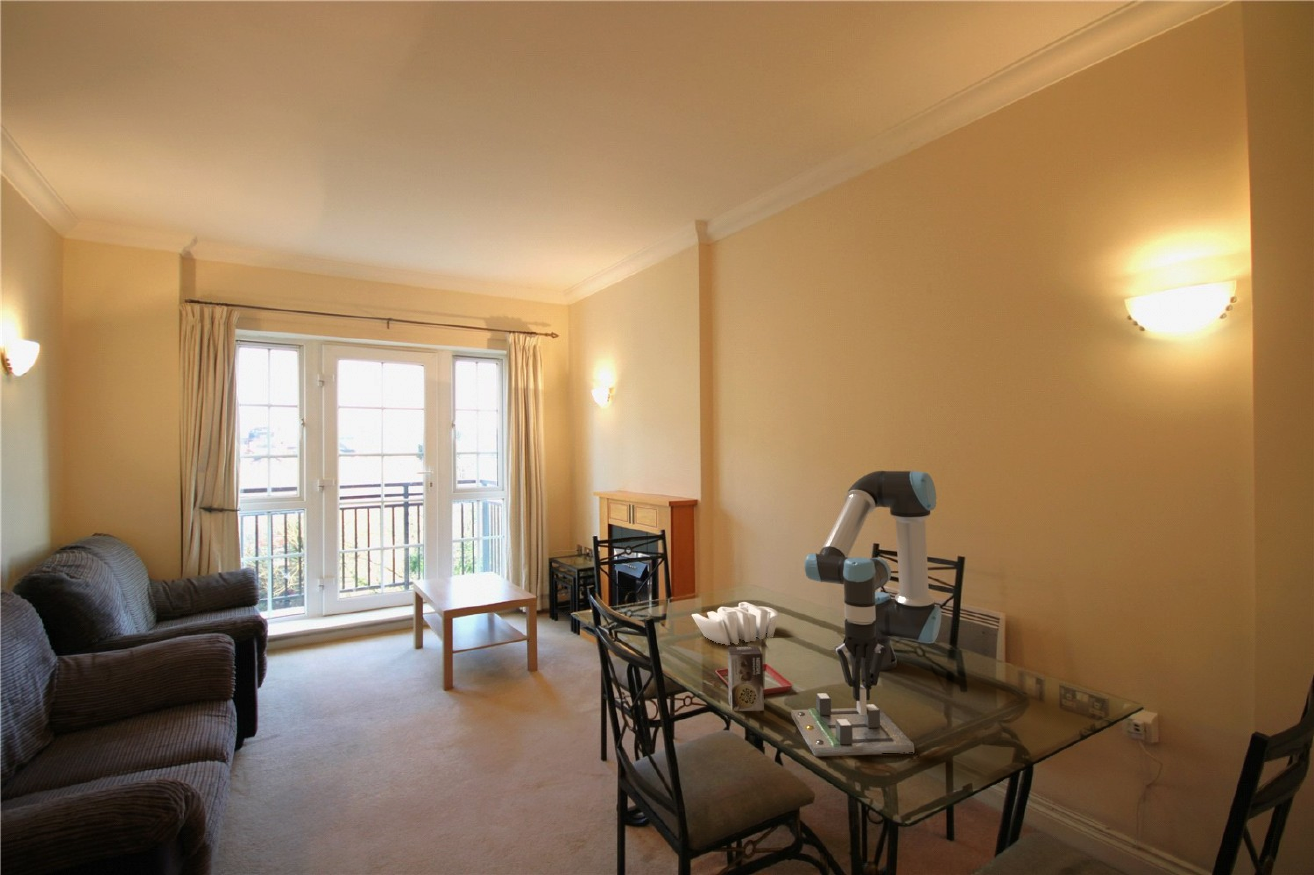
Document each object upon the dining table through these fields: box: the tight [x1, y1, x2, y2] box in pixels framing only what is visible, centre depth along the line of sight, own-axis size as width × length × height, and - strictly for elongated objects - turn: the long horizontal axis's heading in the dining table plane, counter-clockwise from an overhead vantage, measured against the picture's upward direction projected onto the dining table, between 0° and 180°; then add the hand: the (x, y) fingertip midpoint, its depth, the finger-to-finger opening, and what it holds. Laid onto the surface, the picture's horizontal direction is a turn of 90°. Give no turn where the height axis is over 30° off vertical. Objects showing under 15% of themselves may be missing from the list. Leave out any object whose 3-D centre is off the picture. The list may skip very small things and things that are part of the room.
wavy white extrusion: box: [691, 601, 780, 646], centre depth 228 cm, size 35×16×11 cm, turn 111°
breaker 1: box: [815, 692, 832, 715], centre depth 157 cm, size 3×3×4 cm
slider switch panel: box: [790, 706, 915, 757], centre depth 150 cm, size 24×20×3 cm
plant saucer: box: [714, 663, 794, 695], centre depth 180 cm, size 18×18×3 cm
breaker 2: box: [836, 719, 853, 744], centre depth 142 cm, size 3×3×4 cm
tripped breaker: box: [864, 703, 880, 728], centre depth 150 cm, size 3×3×4 cm
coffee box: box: [727, 645, 765, 712], centre depth 166 cm, size 9×6×16 cm
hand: (861, 712), depth 150 cm, fingers closed
